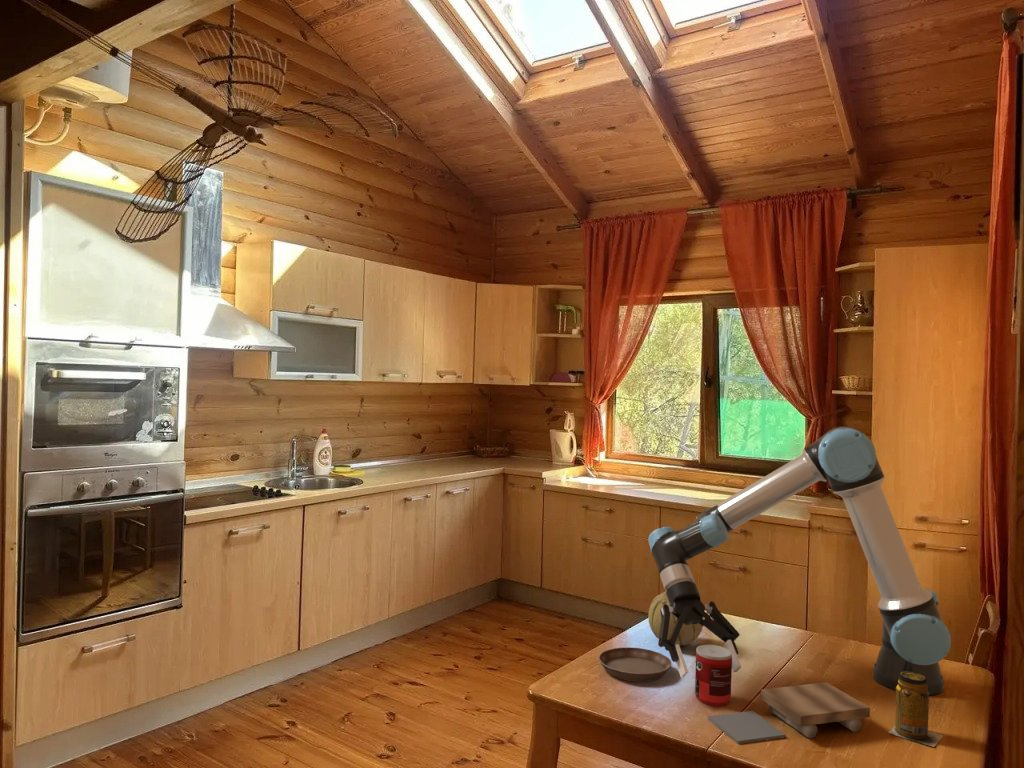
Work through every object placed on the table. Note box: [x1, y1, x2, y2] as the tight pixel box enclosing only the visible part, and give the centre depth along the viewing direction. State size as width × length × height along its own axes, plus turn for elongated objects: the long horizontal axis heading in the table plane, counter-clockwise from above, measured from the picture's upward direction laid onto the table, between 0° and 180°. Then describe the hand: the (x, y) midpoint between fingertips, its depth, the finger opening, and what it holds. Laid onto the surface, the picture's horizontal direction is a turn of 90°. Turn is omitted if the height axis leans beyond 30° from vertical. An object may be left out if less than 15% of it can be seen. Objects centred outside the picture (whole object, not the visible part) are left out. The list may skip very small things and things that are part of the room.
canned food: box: [694, 644, 733, 707], centre depth 167 cm, size 8×8×11 cm
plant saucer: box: [598, 647, 672, 683], centre depth 182 cm, size 18×18×3 cm
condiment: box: [887, 672, 944, 748], centre depth 152 cm, size 7×8×12 cm
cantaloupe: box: [647, 590, 705, 647], centre depth 201 cm, size 15×15×15 cm
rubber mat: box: [707, 710, 786, 745], centre depth 153 cm, size 11×11×1 cm
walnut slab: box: [760, 682, 871, 739], centre depth 157 cm, size 17×13×5 cm
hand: (711, 672), depth 167 cm, fingers open, 13 cm apart
